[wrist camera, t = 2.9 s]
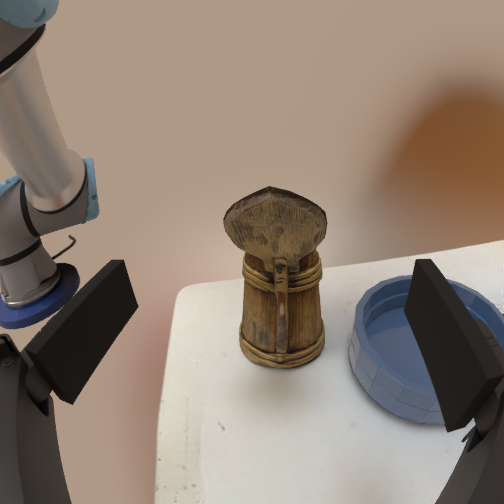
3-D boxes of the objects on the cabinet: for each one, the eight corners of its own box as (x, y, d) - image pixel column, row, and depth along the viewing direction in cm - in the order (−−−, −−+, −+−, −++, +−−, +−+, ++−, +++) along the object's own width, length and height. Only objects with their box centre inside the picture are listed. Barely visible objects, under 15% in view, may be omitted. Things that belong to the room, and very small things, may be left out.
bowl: (311, 355, 26) (314, 321, 24) (405, 289, 34) (411, 260, 32) (449, 462, 13) (477, 436, 11) (510, 347, 21) (525, 317, 19)
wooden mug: (223, 406, 22) (177, 192, 14) (245, 311, 34) (230, 155, 26) (329, 409, 20) (362, 187, 12) (320, 311, 32) (326, 152, 24)
